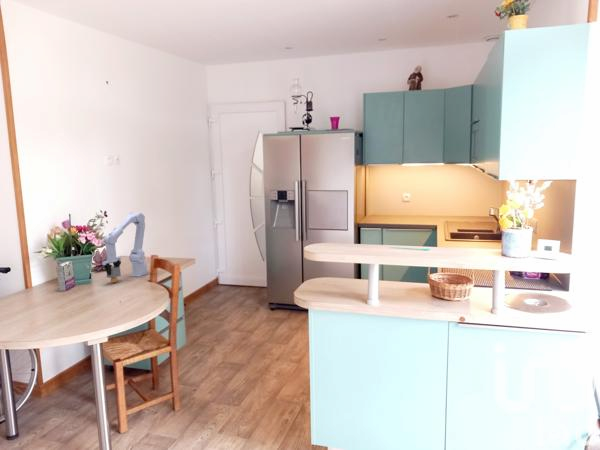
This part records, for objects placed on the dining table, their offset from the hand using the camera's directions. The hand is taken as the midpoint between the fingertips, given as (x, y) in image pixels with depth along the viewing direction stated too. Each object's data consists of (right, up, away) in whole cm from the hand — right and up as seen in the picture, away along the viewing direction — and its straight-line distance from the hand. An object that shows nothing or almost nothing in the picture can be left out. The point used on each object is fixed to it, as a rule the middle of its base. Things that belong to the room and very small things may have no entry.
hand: (113, 273), depth 294 cm
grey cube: (0, -2, 0) cm, 2 cm away
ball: (0, -4, 0) cm, 4 cm away
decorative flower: (-23, -1, +37) cm, 44 cm away
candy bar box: (-25, -9, -11) cm, 28 cm away
